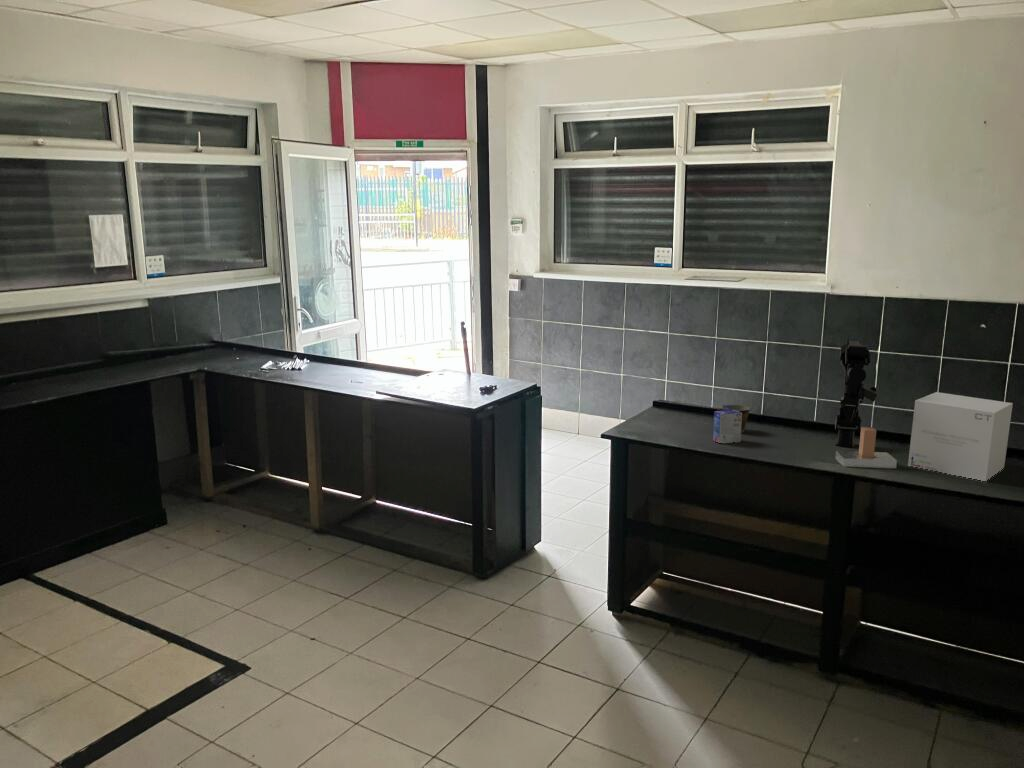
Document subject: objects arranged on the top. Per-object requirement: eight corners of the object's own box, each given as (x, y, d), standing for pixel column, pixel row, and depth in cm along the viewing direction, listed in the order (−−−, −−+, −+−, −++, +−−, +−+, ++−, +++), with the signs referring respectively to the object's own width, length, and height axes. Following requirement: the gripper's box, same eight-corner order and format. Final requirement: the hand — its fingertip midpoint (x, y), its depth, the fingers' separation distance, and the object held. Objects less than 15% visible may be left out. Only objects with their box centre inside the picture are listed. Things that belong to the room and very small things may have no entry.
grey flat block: (835, 458, 295) (836, 450, 295) (886, 460, 293) (887, 452, 293) (843, 466, 286) (844, 458, 285) (896, 468, 284) (896, 460, 283)
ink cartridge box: (733, 438, 321) (736, 403, 318) (741, 442, 316) (743, 406, 313) (711, 440, 318) (713, 405, 315) (719, 444, 313) (721, 408, 310)
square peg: (857, 461, 292) (861, 427, 289) (869, 462, 291) (872, 427, 289) (861, 464, 288) (864, 429, 285) (872, 465, 287) (876, 430, 285)
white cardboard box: (907, 467, 287) (915, 400, 282) (928, 455, 302) (936, 392, 297) (985, 483, 270) (994, 412, 265) (1003, 470, 284) (1012, 403, 279)
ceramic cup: (746, 428, 337) (747, 405, 335) (749, 434, 328) (751, 410, 326) (714, 427, 339) (716, 404, 337) (717, 433, 330) (718, 409, 328)
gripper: (875, 384, 283) (871, 427, 286) (881, 378, 299) (877, 419, 302) (841, 381, 289) (838, 424, 291) (849, 375, 305) (845, 416, 307)
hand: (850, 420), depth 298 cm, fingers open, 9 cm apart
